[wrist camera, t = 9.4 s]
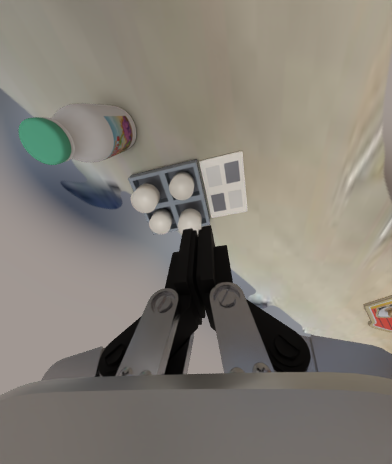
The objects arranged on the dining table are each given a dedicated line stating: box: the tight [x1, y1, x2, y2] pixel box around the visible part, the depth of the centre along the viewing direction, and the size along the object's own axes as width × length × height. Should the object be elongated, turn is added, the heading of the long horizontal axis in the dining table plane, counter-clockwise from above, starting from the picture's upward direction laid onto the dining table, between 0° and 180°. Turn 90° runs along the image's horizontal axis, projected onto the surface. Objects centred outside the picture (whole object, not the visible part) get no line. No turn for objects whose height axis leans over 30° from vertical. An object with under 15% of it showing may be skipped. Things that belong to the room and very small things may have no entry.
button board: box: [128, 159, 210, 235], centre depth 42 cm, size 15×15×3 cm
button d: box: [178, 208, 202, 234], centre depth 39 cm, size 5×5×5 cm
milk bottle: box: [19, 103, 136, 165], centre depth 27 cm, size 8×8×20 cm
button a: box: [131, 183, 160, 213], centre depth 37 cm, size 5×5×5 cm
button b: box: [169, 172, 195, 200], centre depth 38 cm, size 5×5×5 cm
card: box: [199, 151, 247, 218], centre depth 41 cm, size 14×9×1 cm, turn 13°
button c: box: [149, 209, 173, 234], centre depth 43 cm, size 5×5×5 cm
